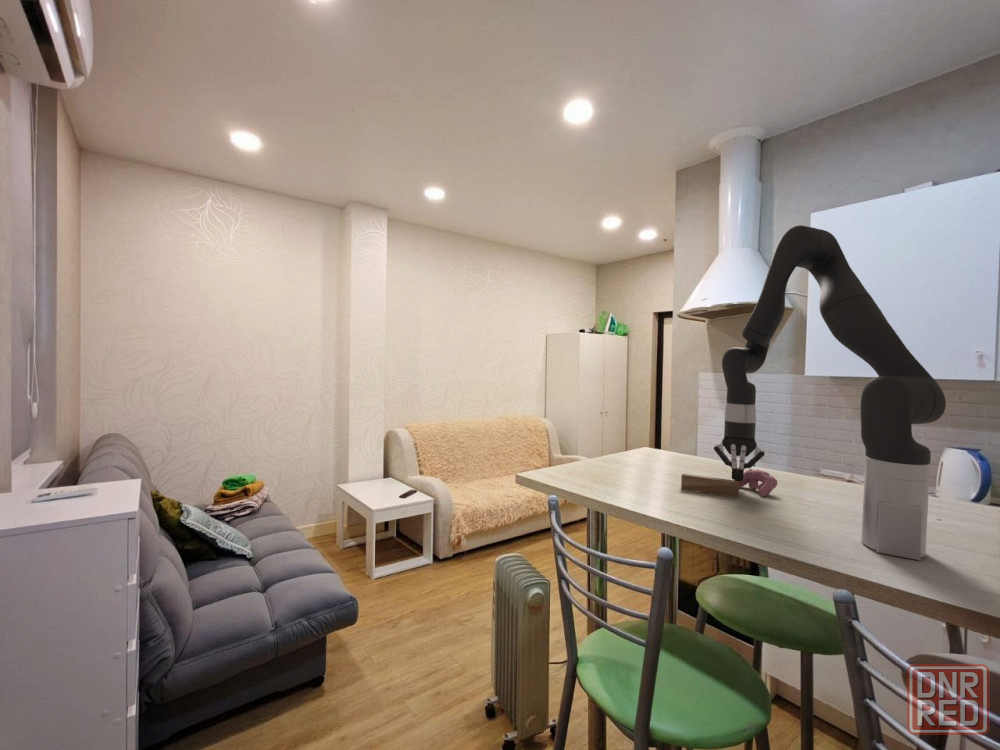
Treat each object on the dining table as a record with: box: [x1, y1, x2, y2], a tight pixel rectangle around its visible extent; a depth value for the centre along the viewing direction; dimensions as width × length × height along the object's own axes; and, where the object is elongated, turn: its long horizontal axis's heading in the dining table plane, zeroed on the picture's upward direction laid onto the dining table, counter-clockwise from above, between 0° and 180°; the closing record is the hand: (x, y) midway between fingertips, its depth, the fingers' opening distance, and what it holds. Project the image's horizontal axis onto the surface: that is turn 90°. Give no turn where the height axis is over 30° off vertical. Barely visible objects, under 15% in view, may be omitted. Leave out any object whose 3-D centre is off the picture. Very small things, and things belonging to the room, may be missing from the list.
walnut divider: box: [680, 472, 740, 499], centre depth 119 cm, size 2×14×4 cm, turn 59°
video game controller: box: [739, 468, 778, 497], centre depth 122 cm, size 10×5×7 cm, turn 14°
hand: (737, 481), depth 122 cm, fingers closed
